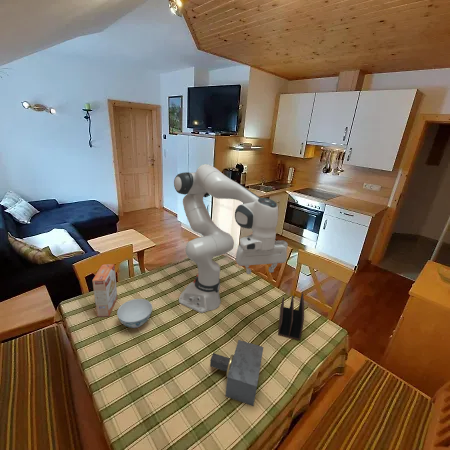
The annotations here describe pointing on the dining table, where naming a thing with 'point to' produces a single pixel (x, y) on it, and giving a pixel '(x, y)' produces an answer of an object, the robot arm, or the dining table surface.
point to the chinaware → (134, 312)
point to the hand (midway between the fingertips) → (259, 272)
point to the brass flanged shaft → (221, 362)
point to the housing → (244, 372)
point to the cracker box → (105, 290)
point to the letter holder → (291, 320)
